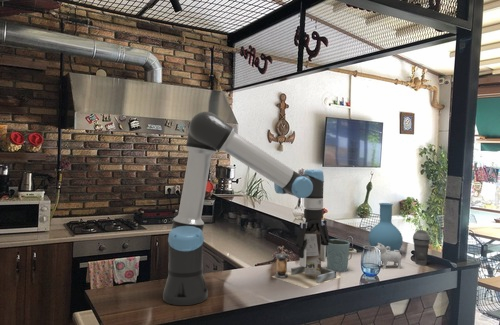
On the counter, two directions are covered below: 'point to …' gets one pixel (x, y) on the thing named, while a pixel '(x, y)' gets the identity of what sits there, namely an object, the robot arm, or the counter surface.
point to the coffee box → (313, 253)
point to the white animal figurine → (389, 256)
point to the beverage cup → (421, 246)
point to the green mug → (338, 255)
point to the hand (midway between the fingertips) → (312, 263)
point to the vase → (386, 230)
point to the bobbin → (281, 265)
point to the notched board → (309, 277)
